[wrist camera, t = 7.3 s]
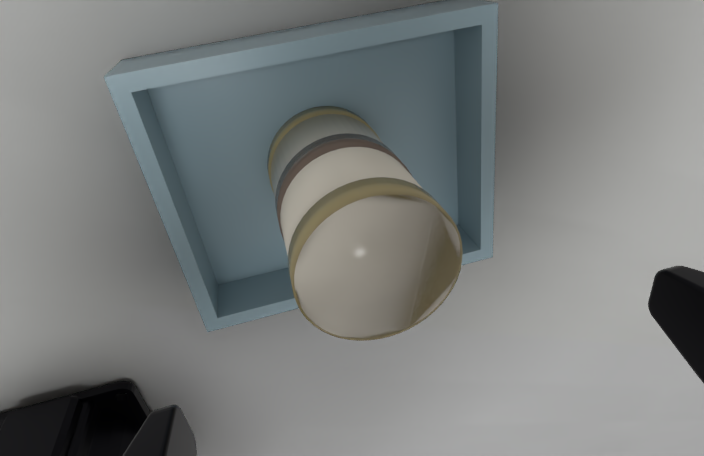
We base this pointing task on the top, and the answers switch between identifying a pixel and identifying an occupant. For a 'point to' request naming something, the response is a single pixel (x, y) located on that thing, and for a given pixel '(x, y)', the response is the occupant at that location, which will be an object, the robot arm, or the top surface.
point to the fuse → (358, 228)
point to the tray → (290, 99)
